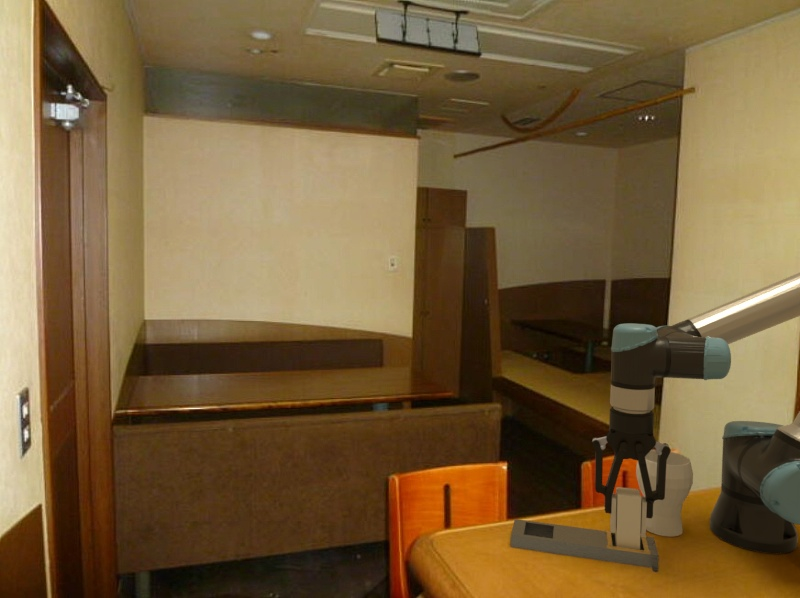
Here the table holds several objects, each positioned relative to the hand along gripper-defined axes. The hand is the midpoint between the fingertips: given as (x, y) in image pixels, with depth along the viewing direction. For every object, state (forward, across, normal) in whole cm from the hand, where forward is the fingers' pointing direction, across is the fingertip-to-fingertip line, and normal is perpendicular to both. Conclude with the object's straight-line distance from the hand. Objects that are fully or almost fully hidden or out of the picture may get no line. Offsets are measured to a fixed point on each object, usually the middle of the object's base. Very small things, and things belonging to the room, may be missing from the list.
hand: (627, 531), depth 108 cm
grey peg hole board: (+5, +8, 0) cm, 9 cm away
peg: (+4, 0, 0) cm, 4 cm away
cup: (+5, -8, -15) cm, 18 cm away
